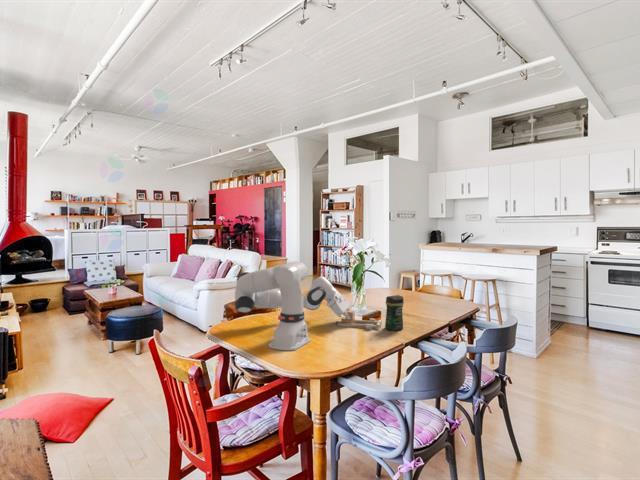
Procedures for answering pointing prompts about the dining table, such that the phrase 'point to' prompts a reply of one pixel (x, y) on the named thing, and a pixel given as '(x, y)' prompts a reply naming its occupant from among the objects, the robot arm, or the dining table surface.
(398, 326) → the coffee jar
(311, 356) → the dining table surface
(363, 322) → the comb track
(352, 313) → the marker sleeve
